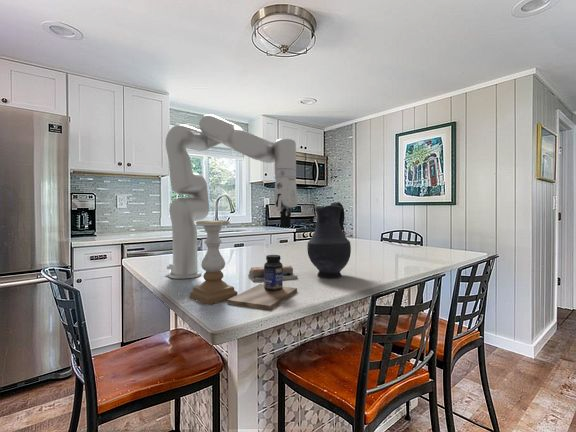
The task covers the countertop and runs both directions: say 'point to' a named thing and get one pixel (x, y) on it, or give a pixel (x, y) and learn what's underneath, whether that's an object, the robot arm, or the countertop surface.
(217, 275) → the candle holder
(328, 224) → the pitcher
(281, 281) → the pill bottle
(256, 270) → the butter dish
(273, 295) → the walnut board
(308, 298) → the countertop surface
